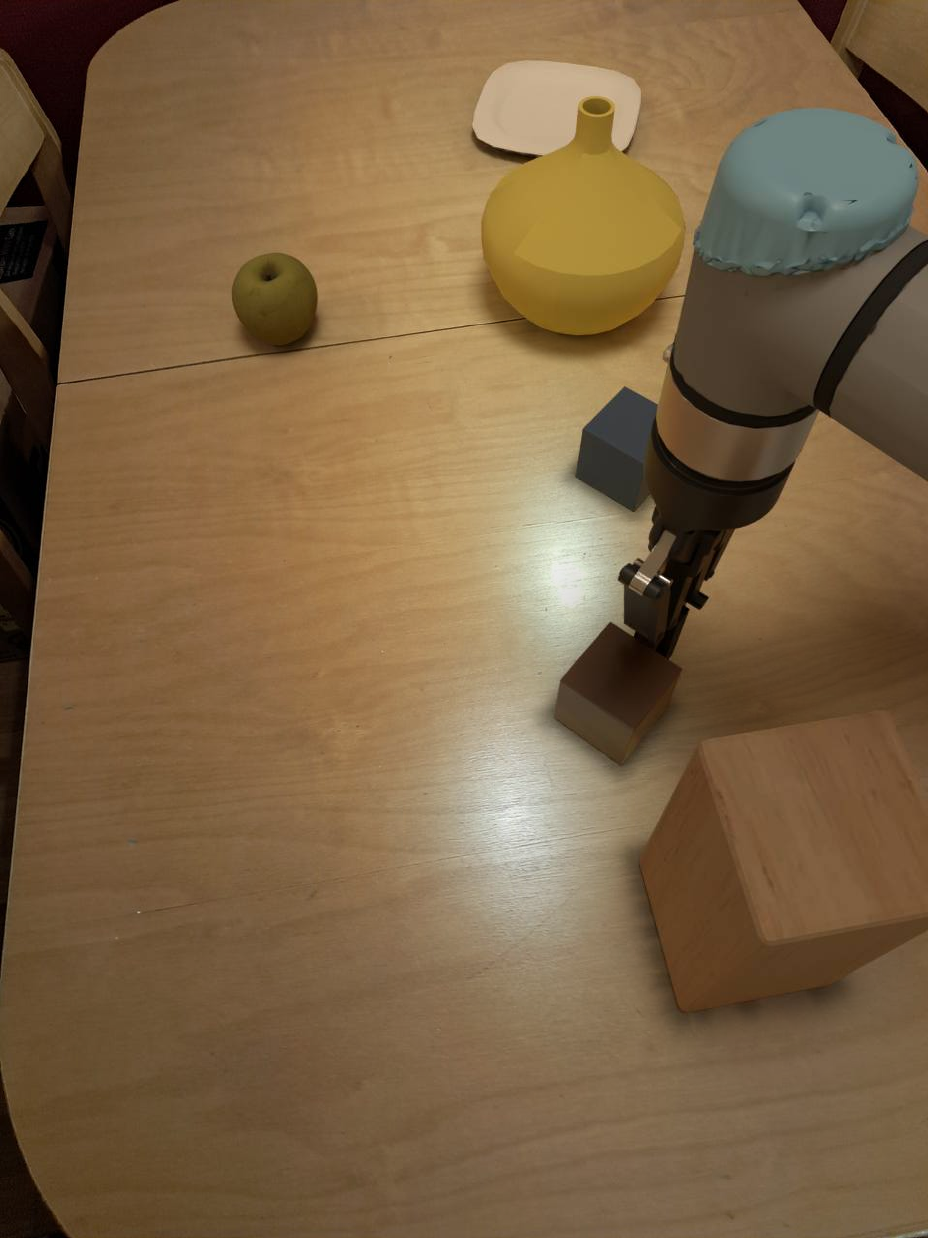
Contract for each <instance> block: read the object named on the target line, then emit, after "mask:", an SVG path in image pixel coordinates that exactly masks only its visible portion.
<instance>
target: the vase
mask: <svg viewBox="0 0 928 1238" xmlns="http://www.w3.org/2000/svg"><path fill="white" fill-rule="evenodd" d="M614 111H615V105H614V103H613V102H612V101H611V100H610V99H608V98H605V97H601V96H590V97H586V98H584V99H582V100H581V101H580V102H579V105H578V114H577V124H576V133H575V137H574V139H573V140H572V141H571V142H570V143H569V144H568V145H566V146H564V147H562V148H560V149H557V150H555V151H553V152H551V153H549V154H546V155H544V156H541V157H536V158H534V159H531V160H529V161H526V162H524V163H522V164H520V165H518V166H516V167H515V168H514V169H512V170H511V171H509V172H508V173H507V174H505V175H504V176H503V177H501V178H500V180H499V181H498V182H497V184H496V185H495V187H494V188H493V189H492V191H491V192H490V194H489V198H488V199H487V202H486V204H485V207H484V210H483V213H482V218H481V222H480V227H481V229H480V230H481V232H480V233H481V235H480V237H481V247H482V254H483V255H482V256H483V260H484V262H485V264H486V266H487V268H488V270H489V273H490V275H491V277H492V278H493V281H494V283H495V285H496V287H497V288H498V291H499V292H500V294H501V296H502V298H503V299H504V300H505V301H506V302H508V303H509V305H510V306H511V307H513V308H514V309H515V310H516V311H517V312H518V313H519V314H520V315H521V316H522V317H523V318H525V319H526V320H527V321H529V322H531V323H532V324H534V325H536V326H538V327H539V328H541V329H544V330H548V331H551V332H554V333H557V334H563V335H572V336H585V335H595V334H596V335H597V334H600V333H605V332H607V331H612V330H614V329H616V328H618V327H619V326H622V325H623V324H625V323H627V322H629V321H630V320H632V319H635V318H636V317H638V316H639V315H641V314H642V313H643V312H644V311H645V310H646V309H647V308H648V307H650V306H651V305H652V304H653V302H655V300H656V299H657V298H658V297H659V295H660V294H661V293H662V292H663V290H664V289H665V288H666V286H667V285H668V284H669V282H671V280H672V278H673V276H674V274H675V272H676V271H677V268H678V267H679V265H680V262H681V258H682V255H683V250H684V247H685V240H686V239H685V238H686V230H687V228H686V226H687V225H686V220H685V217H684V211H683V208H682V205H681V202H680V198H679V196H678V195H677V194H676V192H675V191H674V190H673V188H672V187H671V185H670V184H669V183H668V181H666V180H664V178H662V177H661V176H660V175H658V174H657V173H656V172H654V171H653V170H652V169H650V168H648V167H647V166H645V165H643V164H641V163H640V162H639V161H636V160H635V159H632V157H630V156H629V155H627V154H626V153H624V151H623V152H621V151H620V150H618V149H617V148H616V147H615V146H614V144H613V143H612V137H611V134H612V126H613V119H614Z"/></svg>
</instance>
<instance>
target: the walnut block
mask: <svg viewBox="0 0 928 1238" xmlns="http://www.w3.org/2000/svg"><path fill="white" fill-rule="evenodd" d="M682 672H683V668H682V667H681V666H679V665H678V664H676V663H675V662H674V661H672V660H671V659H667V658H666V657H664V656H662V655H661V654H659V653H658V652H656V651H655V650H653V649H652V648H650V647H649V646H647V645H646V644H644V643H642V642H641V641H639V640H638V639H637V638H635V637H634V635H632V634H631V633H629V632H627V631H626V630H624V629H623V628H621V627H620V626H618V625H617V624H615V623H614V622H612V621H610V622H608V623H607V624H606V625H605V627H603V629H602V630H601V632H600V633H599V634H598V635H597V636H596V637H595V639H593V641H592V642H591V643H590V644H589V646H588V647H587V648H586V649H585V650H584V651H583V653H582V654H581V655H580V656H579V657H578V658H577V660H575V662H574V663H573V664H572V666H570V667H569V669H568V670H567V671H566V673H565V674H564V675H563V676H562V677H561V678H560V680H559V684H558V689H557V695H556V702H555V706H554V713H553V718H554V719H555V720H556V721H558V722H559V723H561V724H562V725H564V727H567V728H568V729H569V730H571V731H572V732H573V733H575V734H576V735H577V736H579V737H580V738H582V739H583V740H585V741H586V742H587V743H589V744H590V745H591V746H593V747H594V748H596V749H597V750H599V751H600V752H601V753H603V754H604V755H605V756H607V757H608V758H610V759H611V760H613V761H614V762H615V763H617V764H618V765H620V766H623V765H624V763H625V762H626V760H627V759H628V758H629V757H630V756H631V754H632V753H633V752H634V750H635V749H636V748H637V746H638V745H639V744H640V742H641V741H642V740H643V739H644V737H645V736H646V735H647V733H648V732H649V731H650V730H651V729H652V727H653V726H654V725H655V723H656V722H657V721H658V719H659V718H661V716H662V714H663V713H664V712H665V710H666V709H667V708H668V706H669V703H670V701H671V699H672V696H673V694H674V691H675V690H676V687H677V684H678V682H679V679H680V676H681V674H682Z"/></svg>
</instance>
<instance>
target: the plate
mask: <svg viewBox="0 0 928 1238" xmlns="http://www.w3.org/2000/svg"><path fill="white" fill-rule="evenodd" d="M590 96H601V97H605V98H608V99H610V100H611V101H612V102H613V103H614V105H615V111H614V119H613V126H612V134H611V137H612V143H613V144H614V146H615V147H616V148H617V149H618V150H620V151H621V152H623V153H624V151H625V150H627V149H628V147H629V145H630V144H631V141H632V139H633V136H634V134H635V131H636V127H637V123H638V119H639V115H640V110H641V105H642V90H641V88H640V86H639V85H638V83H637V82H636V81H635V79H634V78H633V77H631V76H628V75H627V74H624V73H622V72H620V71H617V70H613V69H610V68H609V69H608V68H603V67H599V66H594V65H593V66H592V65H584V64H579V63H578V64H577V63H571V62H570V63H569V62H562V61H560V62H559V61H551V60H534V59H533V60H532V59H523V60H518V61H511V62H506V63H504V64H502V65H501V66H500V67H498V68H497V69H495V70H494V71H492V73H491V74H490V76H489V77H488V79H487V81H486V82H485V83H484V86H483V88H482V90H481V92H480V95H479V97H478V100H477V103H476V106H475V109H474V112H473V116H472V122H471V129H472V130H473V133H474V135H475V138H476V140H478V141H479V142H481V143H483V144H485V145H486V146H488V147H491V148H492V149H495V150H498V151H503V152H508V153H512V154H515V155H516V154H517V155H522V156H531V157H536V158H538V157H541V156H544V155H546V154H549V153H551V152H553V151H555V150H557V149H560V148H562V147H564V146H566V145H568V144H569V143H570V142H571V141H572V140H573V139H574V137H575V133H576V124H577V114H578V105H579V102H580V101H581V100H582V99H584V98H586V97H590Z"/></svg>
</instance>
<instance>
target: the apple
mask: <svg viewBox="0 0 928 1238" xmlns="http://www.w3.org/2000/svg"><path fill="white" fill-rule="evenodd" d="M318 295H319V294H318V287H317V283H316V281H315V278H314V276H313V274H312V273H311V271H310V270H309V268H307V266H306V265H305V264H304V263H303V262H302V261H301V260H299V259H298V258H296V257H295V256H292V255H289V254H286V253H283V252H269V253H265V254H261V255H258V256H255V257H253V258H251V259H249V260H248V261H246V262H245V263H243V264H242V265H241V267H240V268H239V269H238V271H237V272H236V274H235V277H234V279H233V282H232V287H231V303H232V306H233V309H234V313H235V315H236V317H237V319H238V320H239V322H240V324H241V325H242V326H243V328H244V329H245V330H246V331H247V332H248V333H249V334H250V335H251V336H252V337H254V338H255V339H257V340H258V341H260V342H261V343H263V344H268V345H271V346H284V345H288V344H291V343H294V342H295V341H298V340H299V339H301V338H302V337H303V336H304V335H305V334H306V333H307V332H308V330H309V329H310V327H311V325H312V324H313V321H314V319H315V317H316V314H317V309H318V302H319V301H318V300H319V297H318Z"/></svg>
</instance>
